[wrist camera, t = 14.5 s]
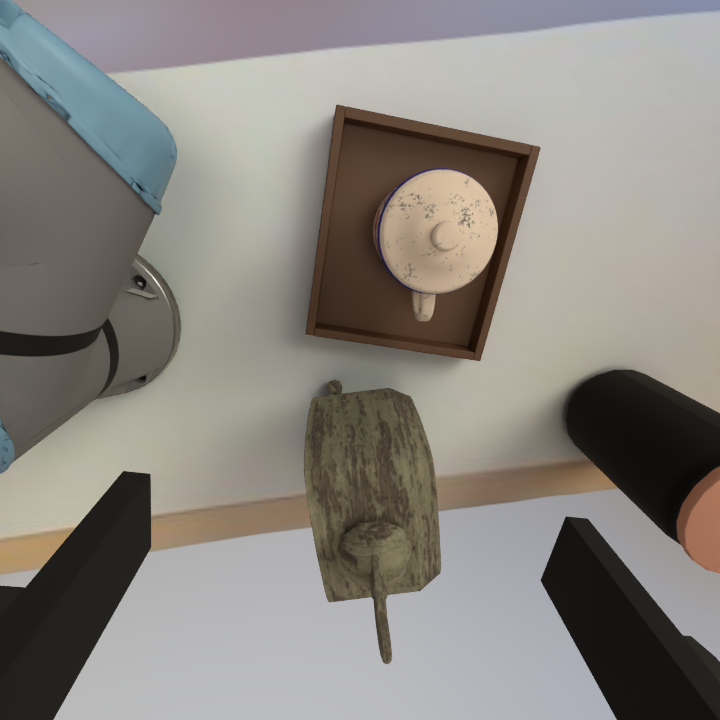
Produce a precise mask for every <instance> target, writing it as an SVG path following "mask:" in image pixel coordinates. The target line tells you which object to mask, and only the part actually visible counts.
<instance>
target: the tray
mask: <svg viewBox="0 0 720 720" xmlns="http://www.w3.org/2000/svg"><path fill="white" fill-rule="evenodd" d="M539 151H540V147H538V146H532V145H529V144H524V143H519V142H515V141H510V140H505V139H500V138H495V137H490V136H486V135H481V134H476V133H471V132H466V131H462V130H457V129H452V128H447V127H442V126H438V125H433V124H428V123H423V122H418V121H413V120H409V119H404V118H399V117H394V116H389V115H385V114H380V113H375V112H370V111H365V110H360V109H356V108H351V107H345V106H341V105H336V111H335V118H334V126H333V133H332V141H331V148H330V156H329V163H328V171H327V178H326V186H325V193H324V201H323V208H322V216H321V223H320V231H319V239H318V246H317V254H316V261H315V269H314V276H313V284H312V291H311V299H310V306H309V314H308V321H307V329H306V335H312V336H318V337H325V338H332V339H338V340H345V341H351V342H358V343H364V344H371V345H378V346H384V347H391V348H397V349H404V350H411V351H417V352H424V353H430V354H437V355H443V356H450V357H457V358H463V359H470V360H477V361H480V360H481V356H482V353H483V349H484V346H485V342H486V339H487V335H488V332H489V328H490V324H491V321H492V317H493V314H494V310H495V307H496V303H497V300H498V296H499V293H500V289H501V286H502V282H503V279H504V275H505V271H506V268H507V264H508V261H509V257H510V254H511V250H512V247H513V243H514V240H515V236H516V233H517V229H518V225H519V222H520V218H521V215H522V211H523V208H524V204H525V201H526V197H527V194H528V190H529V187H530V183H531V180H532V176H533V172H534V169H535V165H536V162H537V158H538V155H539ZM435 168H448V169H454V170H458V171H461V172H463V173H465V174H468V175H469V176H471V177H473V178H474V179H475V180H476V181H478V182H479V183H480V184H481V185H482V186H483V187H484V189H485V190H486V191H487V193H488V194H489V196H490V198H491V200H492V202H493V204H494V207H495V211H496V215H497V222H498V233H497V240H496V245H495V248H494V251H493V254H492V256H491V258H490V260H489V262H488V263H487V265H486V266H485V268H484V269H483V270H482V271H481V273H480V274H479V275H478V276H477V277H476V278H475V279H473V280H472V281H471V282H470V283H468V284H467V285H465V286H463V287H462V288H460V289H457V290H455V291H452V292H449V293H445V294H437V295H436V296H435V306H434V311H433V315H432V317H431V319H430V320H429V321H418V320H417V319H416V318H415V315H414V312H413V306H412V290H410V289H408V288H406V287H405V286H403V285H402V284H400V283H399V282H398V281H397V280H396V279H395V278H394V277H393V276H392V275H391V274H390V273H389V271H388V270H387V268H386V267H385V265H384V263H383V261H382V259H381V257H380V256H379V254H378V252H377V250H376V247H375V244H374V239H373V223H374V218H375V215H376V212H377V210H378V208H379V206H380V204H381V203H382V201H383V200H384V198H385V197H386V196H387V195H388V194H389V193H390V192H391V191H393V190H394V189H395V188H397V187H398V186H399V185H400V184H401V183H402V182H404V181H405V180H406V179H408V178H409V177H411V176H413V175H415V174H417V173H419V172H422V171H425V170H429V169H435Z"/></svg>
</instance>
